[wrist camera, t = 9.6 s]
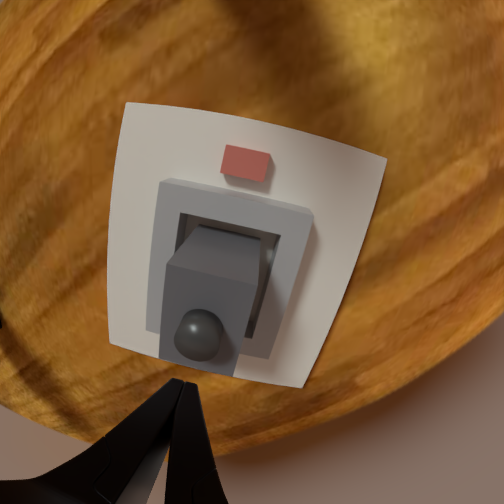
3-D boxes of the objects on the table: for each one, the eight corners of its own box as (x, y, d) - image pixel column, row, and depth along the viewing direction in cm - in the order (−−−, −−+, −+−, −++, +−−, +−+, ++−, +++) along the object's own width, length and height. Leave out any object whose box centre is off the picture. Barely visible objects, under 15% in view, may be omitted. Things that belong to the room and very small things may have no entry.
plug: (242, 306, 19) (229, 394, 12) (189, 293, 19) (151, 374, 11) (260, 234, 17) (256, 301, 10) (201, 221, 17) (156, 276, 10)
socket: (300, 378, 23) (304, 406, 20) (115, 334, 22) (99, 357, 19) (380, 157, 16) (401, 160, 13) (134, 104, 16) (110, 98, 13)
